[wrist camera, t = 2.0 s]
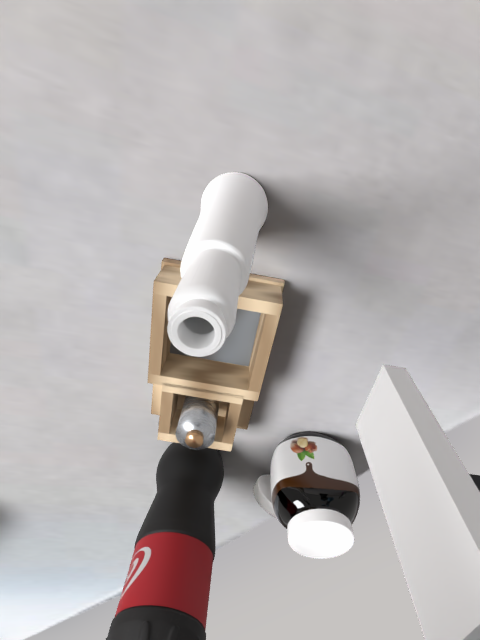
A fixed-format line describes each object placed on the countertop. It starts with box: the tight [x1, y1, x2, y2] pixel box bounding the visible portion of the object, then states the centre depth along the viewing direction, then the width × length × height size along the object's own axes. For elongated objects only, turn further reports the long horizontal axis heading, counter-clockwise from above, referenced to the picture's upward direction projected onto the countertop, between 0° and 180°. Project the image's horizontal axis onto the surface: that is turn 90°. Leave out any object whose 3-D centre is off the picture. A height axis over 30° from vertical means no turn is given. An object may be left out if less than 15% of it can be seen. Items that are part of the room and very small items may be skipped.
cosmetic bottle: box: [167, 172, 268, 357], centre depth 23 cm, size 6×6×22 cm
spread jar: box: [253, 432, 360, 559], centre depth 43 cm, size 12×11×12 cm
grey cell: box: [176, 395, 220, 450], centre depth 39 cm, size 4×4×7 cm
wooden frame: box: [148, 258, 285, 452], centre depth 38 cm, size 12×20×5 cm, turn 170°
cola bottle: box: [106, 442, 224, 640], centre depth 36 cm, size 8×8×30 cm
